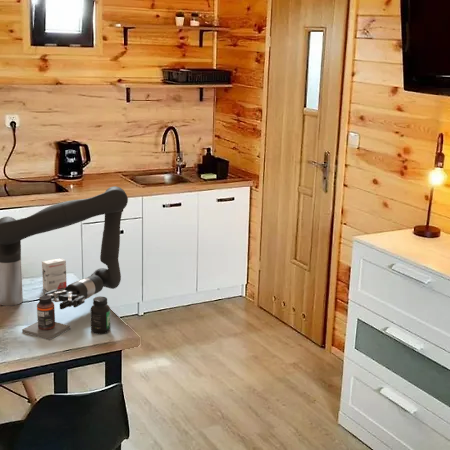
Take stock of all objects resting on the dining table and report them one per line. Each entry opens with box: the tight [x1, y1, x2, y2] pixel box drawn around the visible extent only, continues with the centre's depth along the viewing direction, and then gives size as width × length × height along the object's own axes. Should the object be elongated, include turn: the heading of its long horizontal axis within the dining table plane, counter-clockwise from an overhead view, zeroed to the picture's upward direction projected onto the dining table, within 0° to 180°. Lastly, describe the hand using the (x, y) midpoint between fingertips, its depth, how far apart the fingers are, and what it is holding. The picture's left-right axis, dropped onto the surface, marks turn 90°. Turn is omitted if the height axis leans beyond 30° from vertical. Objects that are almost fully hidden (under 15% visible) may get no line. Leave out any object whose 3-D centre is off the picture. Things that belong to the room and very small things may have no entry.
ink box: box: [41, 257, 68, 292], centre depth 288 cm, size 9×5×12 cm, turn 130°
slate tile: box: [21, 321, 71, 341], centre depth 248 cm, size 12×11×1 cm
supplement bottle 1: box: [36, 294, 56, 330], centre depth 247 cm, size 6×6×11 cm
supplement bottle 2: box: [90, 296, 111, 335], centre depth 249 cm, size 7×7×12 cm
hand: (51, 304), depth 249 cm, fingers open, 8 cm apart
